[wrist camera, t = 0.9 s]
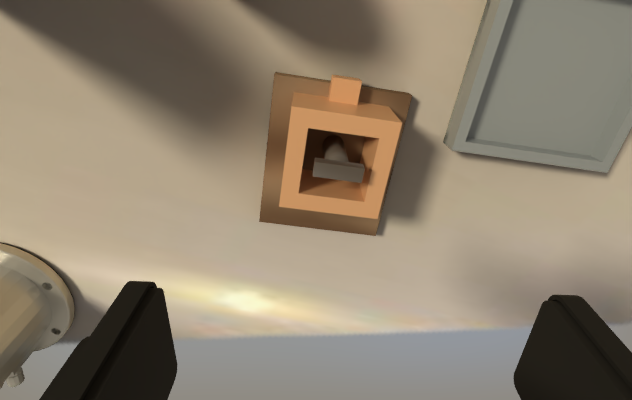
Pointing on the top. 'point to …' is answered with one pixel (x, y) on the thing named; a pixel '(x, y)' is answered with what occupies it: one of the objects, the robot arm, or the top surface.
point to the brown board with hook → (320, 154)
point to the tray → (548, 83)
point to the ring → (341, 117)
